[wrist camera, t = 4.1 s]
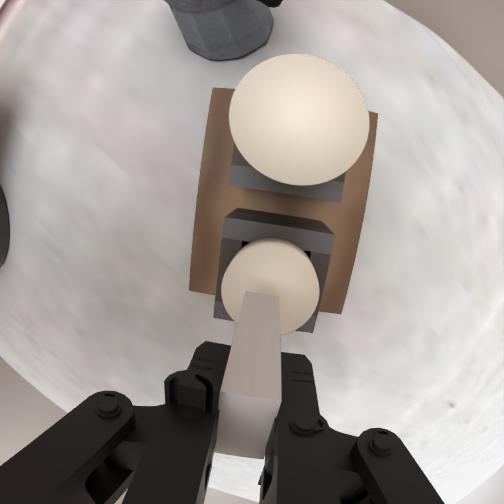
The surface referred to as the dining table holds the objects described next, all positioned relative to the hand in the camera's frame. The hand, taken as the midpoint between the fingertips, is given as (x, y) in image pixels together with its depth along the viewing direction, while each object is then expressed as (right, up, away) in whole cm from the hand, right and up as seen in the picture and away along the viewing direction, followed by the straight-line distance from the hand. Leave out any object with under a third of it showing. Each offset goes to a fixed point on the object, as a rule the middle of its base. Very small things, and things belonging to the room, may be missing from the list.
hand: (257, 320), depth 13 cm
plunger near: (+2, +10, +5) cm, 12 cm away
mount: (+2, +8, +13) cm, 15 cm away
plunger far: (+1, +3, +11) cm, 12 cm away
